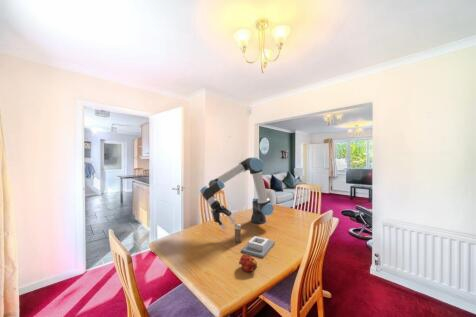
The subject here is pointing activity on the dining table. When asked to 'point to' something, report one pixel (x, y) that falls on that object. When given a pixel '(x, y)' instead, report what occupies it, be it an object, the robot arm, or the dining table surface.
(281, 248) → the dining table surface
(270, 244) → the socket board
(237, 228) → the cream round-topped cylinder
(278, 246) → the dining table surface
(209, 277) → the dining table surface
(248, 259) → the dragon fruit
